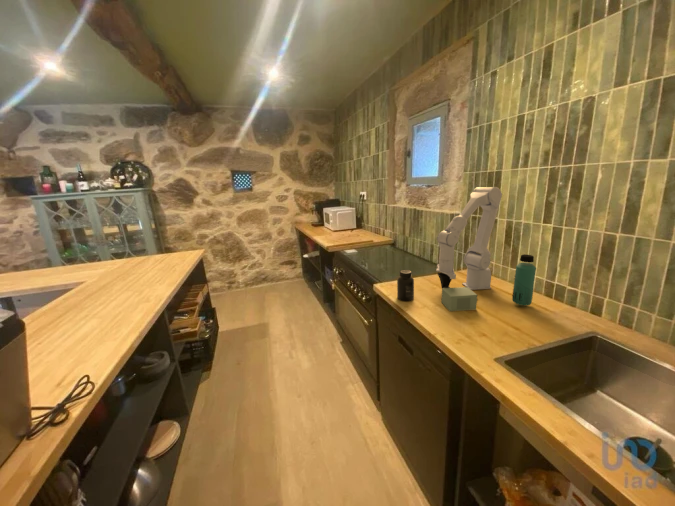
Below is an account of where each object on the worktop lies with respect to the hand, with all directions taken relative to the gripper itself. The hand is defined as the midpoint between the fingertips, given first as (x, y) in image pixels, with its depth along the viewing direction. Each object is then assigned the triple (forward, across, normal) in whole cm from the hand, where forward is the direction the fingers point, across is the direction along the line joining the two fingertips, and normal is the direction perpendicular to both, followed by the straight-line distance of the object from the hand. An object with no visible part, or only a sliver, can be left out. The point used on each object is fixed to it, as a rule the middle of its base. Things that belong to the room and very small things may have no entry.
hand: (444, 289), depth 120 cm
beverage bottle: (+2, +16, +23) cm, 28 cm away
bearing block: (+2, +13, 0) cm, 13 cm away
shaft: (+2, +9, 0) cm, 9 cm away
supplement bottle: (+2, +3, -18) cm, 18 cm away
